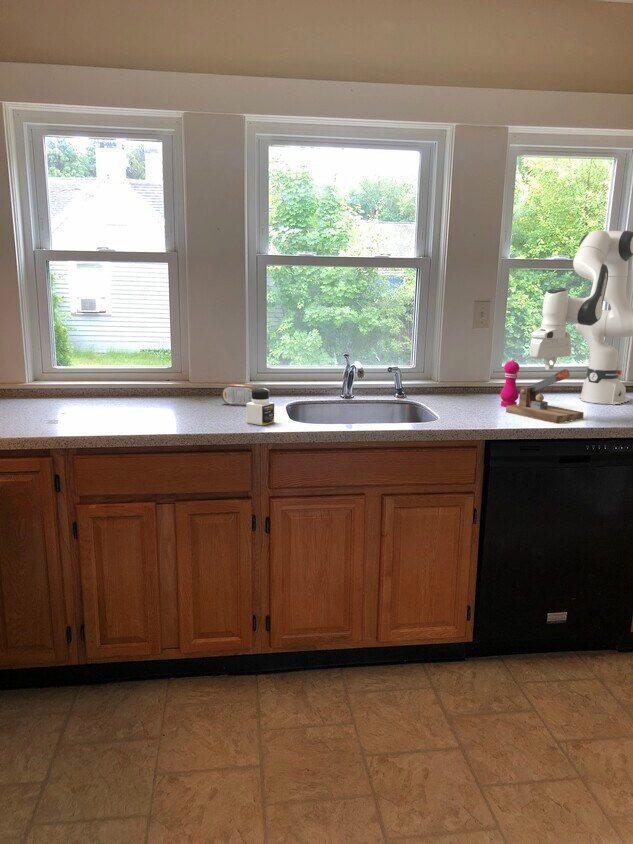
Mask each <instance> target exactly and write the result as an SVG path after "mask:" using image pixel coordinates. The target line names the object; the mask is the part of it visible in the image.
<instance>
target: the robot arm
mask: <svg viewBox="0 0 633 844" xmlns="http://www.w3.org/2000/svg"><path fill="white" fill-rule="evenodd" d="M578 244H579V245H578V249H577V250H576V253H575V254H574V258H573V262H572V266H573V269H574V271H575V273H576V274H577V275H579V276H580V277H581V278H583V279H586V280H589V281H591V282H592V285H591V290H590V295H589V296H586V297H570V296H569V292H568V291H569V290H568V289H566V288H563V287H562V288H561V287H556V288H555V287H554V288H550V289H548V290H546V292H545V294H544V297H543V302H542V309H541V310H542V311H541V315H542V320H541V324H540V327H537V328H536V329H535V330H533V331H532V332H531V334H530V338H531V339H530V345H529V356H530V358H531V359H535V360H539V359H540V360H542V359H543V363H544V369H545V370H546V371H547V370H549V371H550V370H554V369H555V364H556V362H557V359H558V358H565V357H567V358H568V357H570V355H571V353H572V339H571V334H570V333H569V332H568V331H566V330H567V324H573V325H574V326H575V330H576V331H577V333H578V334H579V335H581V336H582V337H583V338H584V340H585V341H586V343H587V345H588V346H587V347H588V351H589V353H588V355H589V356H588V357H589V358H588V367H587V369H586V378H585V379H584V381H583V384H582V390H581V393H580V395H579V396H578V399H580V398H581V399H580V401H583V402H586V403H591V404H600V405H601V404H602V405H615V404H620V405H622V404H621V403H623V404H625V403H624V402H626V403H628V402H627V401H629V402H631V401H632V399H631V398H629V397H626V394H627V393H626V392H627V391H626V390H627V389H626V386H625V384H623V383H622V382H621V381H620V379H619V376H621V375H622V374H623V370H621V369H617V367H618V361H619V352H618V350H617V349H616V348H615V347H614V346H612V345H610V344H609V343H607V342H606V341H605V337H608V338H610V337H611V338H629V337H633V307H631V305H630V303H629V300H628V296H627V289H628V288H627V287H628V276H629V260H630V258H632V257H633V231H631V230H624V231H623V230H608V231H604V230H602V229H595V230H592V231H590V232H589V233H585V234H584V235H583V236H582V237H581V239H580V241H579V243H578ZM604 303H607V304H608V305H609V306H610V310H606V309H604V310H603V304H604ZM630 400H631V401H630Z"/></svg>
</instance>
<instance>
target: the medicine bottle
mask: <svg viewBox="0 0 633 844" xmlns="http://www.w3.org/2000/svg"><path fill="white" fill-rule="evenodd" d="M252 401H253V402H250V403H247V404H246V406H245V407H246V424H250V425H257V426H265V425H268V424H272V423H274V422H275V402H273V401H270V390H269V389H267V388H264V387H263V388H261V387H259V388H256V389H253V390H252Z"/></svg>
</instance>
